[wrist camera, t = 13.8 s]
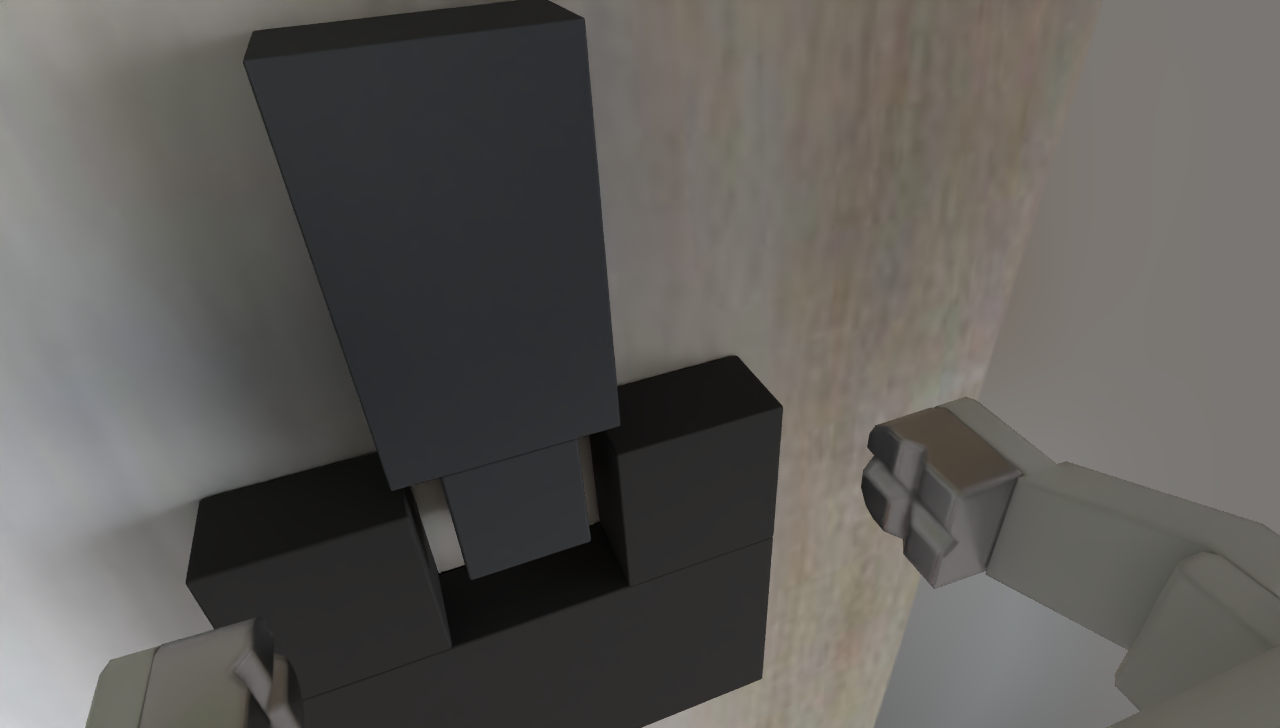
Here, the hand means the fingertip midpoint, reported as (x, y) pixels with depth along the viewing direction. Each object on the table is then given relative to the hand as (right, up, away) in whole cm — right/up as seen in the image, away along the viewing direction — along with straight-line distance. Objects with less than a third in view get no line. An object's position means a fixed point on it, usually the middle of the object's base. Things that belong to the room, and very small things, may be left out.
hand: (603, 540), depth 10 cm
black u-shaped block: (-3, -5, +16) cm, 17 cm away
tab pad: (-4, +4, +10) cm, 11 cm away
